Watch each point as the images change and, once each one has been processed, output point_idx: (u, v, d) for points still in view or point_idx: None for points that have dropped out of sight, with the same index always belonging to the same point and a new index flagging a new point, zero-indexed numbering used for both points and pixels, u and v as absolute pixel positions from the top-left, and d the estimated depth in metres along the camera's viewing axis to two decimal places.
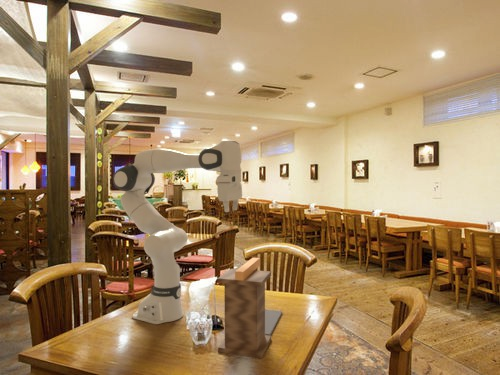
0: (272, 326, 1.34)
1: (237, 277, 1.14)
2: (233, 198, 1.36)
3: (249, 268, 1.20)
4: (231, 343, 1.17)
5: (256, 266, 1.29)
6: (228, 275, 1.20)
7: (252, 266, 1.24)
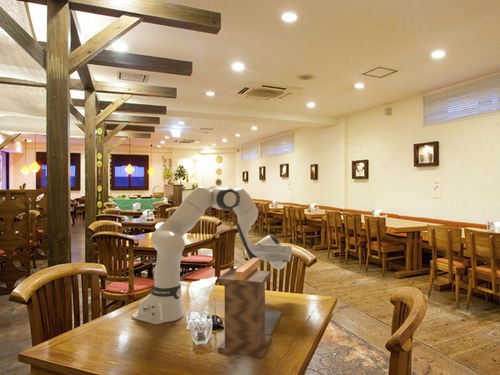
0: (272, 326, 1.34)
1: (237, 277, 1.14)
2: (274, 252, 1.57)
3: (249, 268, 1.20)
4: (231, 343, 1.17)
5: (256, 266, 1.29)
6: (228, 275, 1.20)
7: (252, 266, 1.24)
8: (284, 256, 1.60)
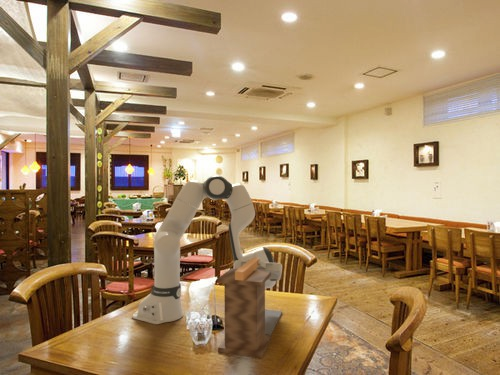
0: (272, 326, 1.34)
1: (237, 277, 1.14)
2: (260, 270, 1.34)
3: (249, 268, 1.20)
4: (231, 343, 1.17)
5: (256, 266, 1.29)
6: (228, 275, 1.20)
7: (252, 266, 1.24)
8: (273, 275, 1.37)
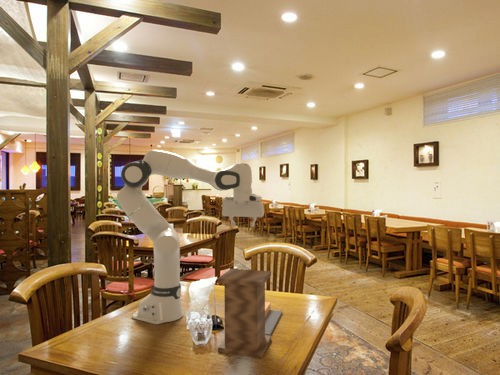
0: (272, 326, 1.34)
1: None
2: None
3: None
4: (231, 343, 1.17)
5: (267, 311, 1.48)
6: (228, 275, 1.20)
7: None
8: None
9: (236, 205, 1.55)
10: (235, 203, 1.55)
